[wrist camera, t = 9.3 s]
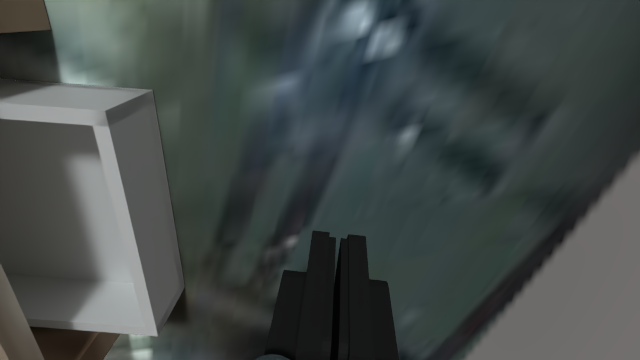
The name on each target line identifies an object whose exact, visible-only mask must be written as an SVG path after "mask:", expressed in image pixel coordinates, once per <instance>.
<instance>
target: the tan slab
mask: <svg viewBox="0 0 640 360" xmlns="http://www.w3.org/2000/svg"><path fill="white" fill-rule="evenodd" d="M39 30H51V28H50V24H49V20H48V16H47V12H46V9H45V5H44V1H43V0H0V33H10V32H24V31H39ZM119 335H120V333H109V332H96V331H83V330H71V329H58V328H45V327H33V326H29V325H28V323H27V320H26V318H25V316H24V314H23V312H22V309H21V307H20V305H19V303H18V301H17V298H16V296H15V294H14V292H13V290H12V287H11V285H10V283H9V281H8V279H7V276H6V274H5V272H4V270H3V268H2V265H1V263H0V360H103V359H104V357H105V356H106V354H107V353H108V351H109V350H110V348H111V347H112V345H113V344H114V342H115V341H116V339H117V338H118V336H119Z"/></svg>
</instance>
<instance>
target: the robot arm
mask: <svg viewBox="0 0 640 360" xmlns="http://www.w3.org/2000/svg"><path fill="white" fill-rule="evenodd" d="M329 234H330V232H321V231H313V232H312V239H311V247H310V254H309V261H308V268H307V272H298V271H289V270H284V271H283V275H282V279H281V283H280V288H279V292H278V297H277V301H276V305H275V310H274V314H273V319H272V323H271V328H270V332H269V336H268V341H267V345H266V350H265V354H264V356H260V357H258V358H256V359H254V360H399V357H398V350H397V343H396V336H395V329H394V322H393V315H392V308H391V301H390V294H389V287H388V283H387V281H380V280H371V279H369V273H368V260H367V247H366V237H365V236H358V235H349V234H348V237H347V239H343V238H341V241H340V248H339V255H338V262H337V269H336V276H335V283H334V270H335V246H336V238H334V237H329Z"/></svg>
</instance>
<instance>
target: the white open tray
mask: <svg viewBox="0 0 640 360" xmlns="http://www.w3.org/2000/svg"><path fill="white" fill-rule="evenodd" d="M0 263H1V265H2V268H3V270H4V272H5V274H6V276H7V279H8V281H9V283H10V285H11V287H12V290H13V292H14V294H15V296H16V298H17V301H18V303H19V305H20V307H21V309H22V312H23V314H24V316H25V318H26V320H27V323H28V325H29V326H33V327H45V328H58V329H71V330H83V331H96V332H109V333H121V334H134V335H147V336H159V334H160V332H161V330H162V328H163V326H164V324H165V323H166V321H167V319H168V317H169V315H170V313H171V312H172V310H173V308H174V306H175V304H176V302H177V301H178V299H179V297H180V295H181V293H182V291H183V289H184V288H185V284H184V278H183V272H182V266H181V260H180V254H179V248H178V241H177V235H176V229H175V223H174V217H173V211H172V205H171V199H170V193H169V186H168V180H167V174H166V168H165V162H164V156H163V150H162V144H161V137H160V131H159V125H158V119H157V113H156V107H155V101H154V95H153V90H147V89H134V88H120V87H107V86H93V85H80V84H66V83H52V82H39V81H25V80H12V79H0Z"/></svg>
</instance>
